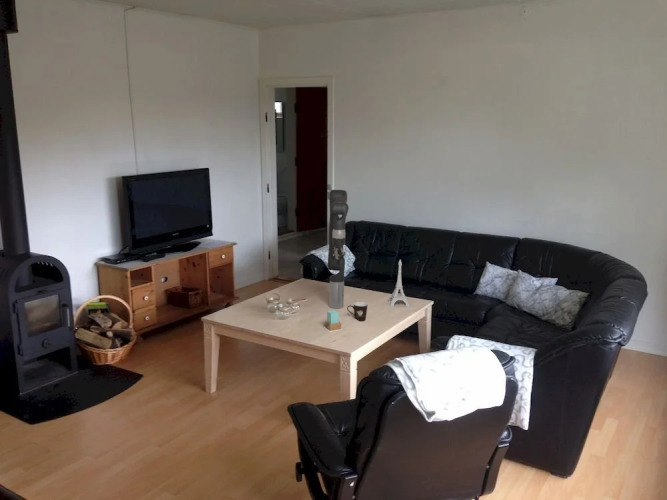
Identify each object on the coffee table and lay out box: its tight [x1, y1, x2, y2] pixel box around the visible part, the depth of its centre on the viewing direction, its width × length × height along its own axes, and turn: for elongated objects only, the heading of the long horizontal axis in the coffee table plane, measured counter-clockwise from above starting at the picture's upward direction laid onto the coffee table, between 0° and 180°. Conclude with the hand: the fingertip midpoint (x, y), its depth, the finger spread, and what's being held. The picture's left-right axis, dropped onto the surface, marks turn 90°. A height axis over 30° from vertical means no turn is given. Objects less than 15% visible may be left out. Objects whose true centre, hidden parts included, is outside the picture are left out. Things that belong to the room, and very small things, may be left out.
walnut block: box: [324, 320, 342, 332], centre depth 344 cm, size 7×7×4 cm
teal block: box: [326, 309, 340, 324], centre depth 343 cm, size 5×5×6 cm
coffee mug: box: [347, 301, 369, 322], centre depth 364 cm, size 12×9×10 cm
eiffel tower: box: [386, 259, 411, 308], centre depth 394 cm, size 13×13×30 cm
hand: (338, 265), depth 355 cm, fingers closed
